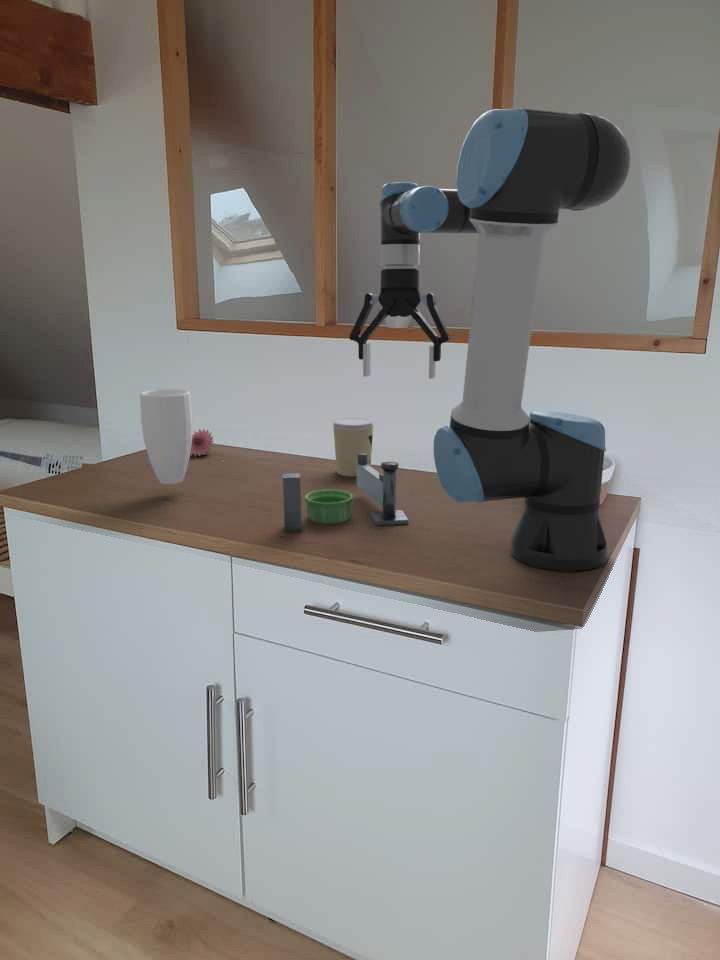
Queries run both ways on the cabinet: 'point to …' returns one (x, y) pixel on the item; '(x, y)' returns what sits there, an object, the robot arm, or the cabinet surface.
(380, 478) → the gate
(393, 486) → the pivot post
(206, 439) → the flower
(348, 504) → the ramekin
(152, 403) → the cup
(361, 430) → the coffee cup
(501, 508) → the cabinet surface
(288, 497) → the stile
